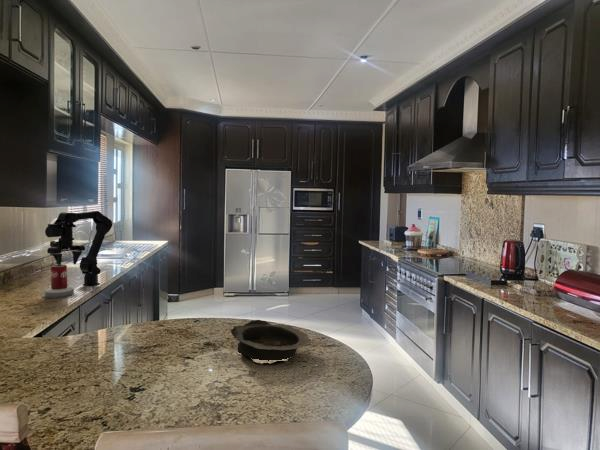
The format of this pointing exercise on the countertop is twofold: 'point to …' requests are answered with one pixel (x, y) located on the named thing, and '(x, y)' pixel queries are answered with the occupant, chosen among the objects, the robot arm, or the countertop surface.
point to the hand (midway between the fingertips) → (67, 265)
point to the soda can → (58, 277)
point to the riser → (59, 293)
